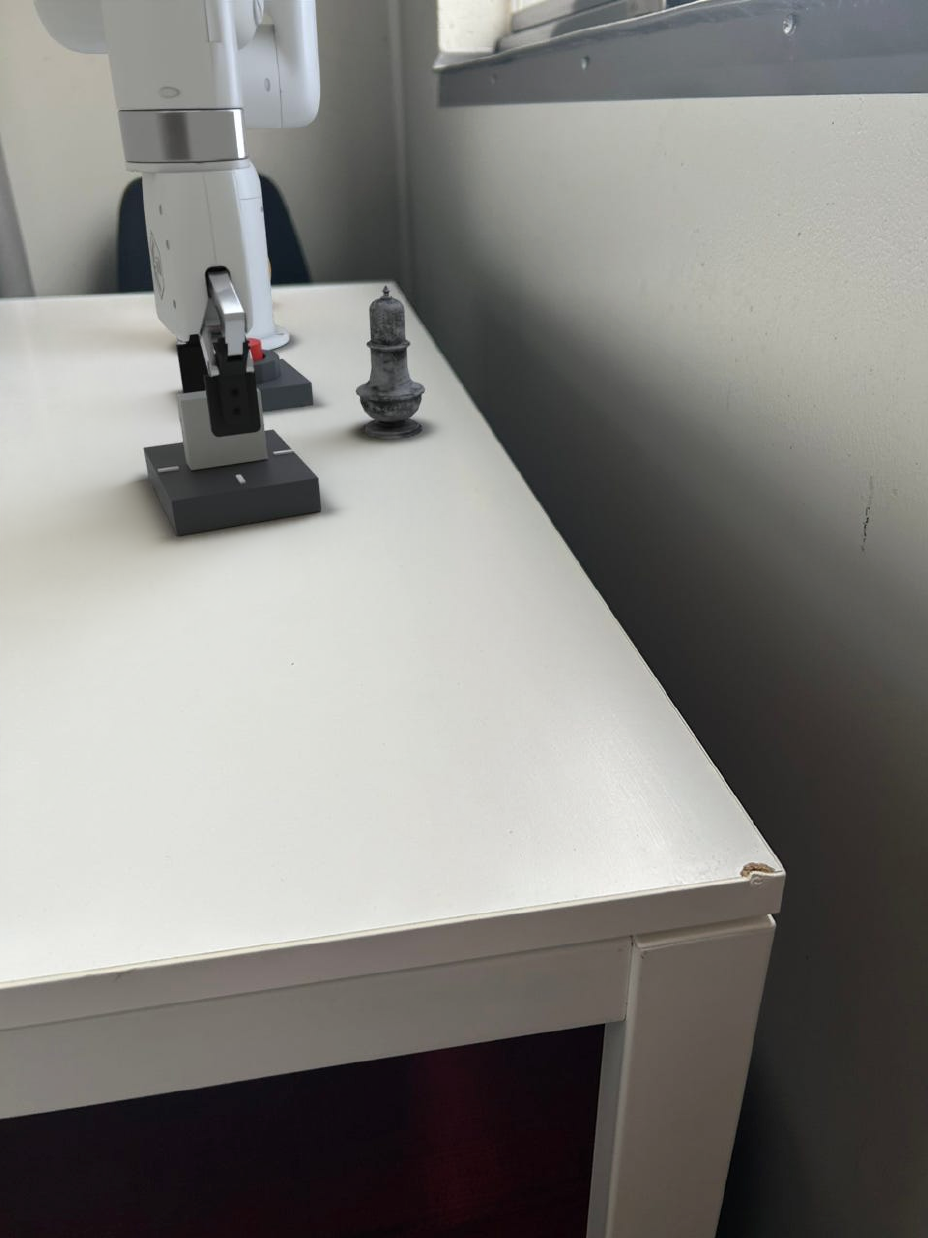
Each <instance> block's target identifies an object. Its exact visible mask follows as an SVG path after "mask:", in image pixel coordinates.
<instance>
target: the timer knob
mask: <svg viewBox="0 0 928 1238" xmlns="http://www.w3.org/2000/svg"><path fill="white" fill-rule="evenodd" d="M257 394H258V403H259V412H260V421H261V428H260V430H259V431H258V432H254V433H247V434H239V435H232V436H225V437H216V436H214V435H213V433H212V432H211V427H210V419H209V412H208V405H207V397H206V391H200V392H192V393H183V392H182V393H177V394H175V398H176V405H177V411H178V418H179V424H180V431H181V437H182V442H183V445H184V451H185V458H186V463H187V465H188V466H189V468H190V469H191V470H198V469H205V468H212V467H218V466H225V465H231V464H238V463H245V462H251V461H258V460H265V459H268V458H267V449H266V440H265V431H266V430H265V422H264V412H262V403H261V394H260V391H259V390H258V389H257Z"/></svg>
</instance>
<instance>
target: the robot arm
mask: <svg viewBox="0 0 928 1238" xmlns="http://www.w3.org/2000/svg"><path fill="white" fill-rule="evenodd" d="M32 1H33V5H34V8H35V11H36V13H37V16H38V18H39V20H40V22H41V25H42V26H43V27H44V29H45V30H46V32H47V33H48V34H49V36H50V37H51V38H52V39H53V40H54V41H55V42H56V43H58V45H60V46H62V48H65V49H67V50H69V51H72V52H76V53H80V54H85V55H108V62H109V69H110V74H111V80H112V87H113V93H114V99H115V106H116V110H118V111H117V118H118V119H117V120H118V124H119V131H120V138H121V144H122V150H123V156H124V164H125V169H126V171H127V172H133V173H134V172H137V173H141V179H142V180H141V181H142V193H143V194H142V197H143V198H142V199H143V211H144V220H145V228H146V238H147V246H148V253H149V262H150V270H151V277H152V278H151V279H152V286H153V288H152V289H153V297H154V305H155V311H156V316H157V318H158V320H159V321H160V322H161V323H162V324H163V326H164V327H165V328H166V329H167V330H168V331H169V332H170V333H171V334H172V335H173V336H174V337H175V338H176V341H177V342H176V343H177V344H175V347H176V352H177V353H176V354H177V361H178V367H179V368H178V369H179V374H180V382H181V387H182V394H183V393H192V392H200V391H206V397H207V405H208V412H209V419H210V427H211V432H212V433H213V435H214V436H216V437H225V436H232V435H239V434H247V433H254V432H258V431H259V430H260V428H261V421H260V412H259V403H258V394H257V385H256V376H255V371H254V363H253V359H252V355H251V351H250V346H249V344H248V343H250V342H249V340H247V338H255V339H259V340H260V341H261V347H262V349H264V350H269V351H273V350H275V349H279V348H281V347H283V346H285V345H286V344H288V343H289V342H290V332H289V330H288V328H286V327H285V326H282V325H280V324H275V316H274V306H273V305H274V304H273V294H272V283H271V280H270V274H269V264H268V258H269V255H268V245H267V237H266V236H267V235H266V225H265V214H264V206H263V195H262V186H261V180H260V177H259V174H258V171H257V169H256V167H255V165H254V164H253V162H252V161H251V160H250V157H249V147H248V135H247V130H282V129H298V128H303V127H306V126H308V125H310V124H311V123H312V122H314V120H315V119H316V118H317V115H318V113H319V111H320V110H319V109H320V101H321V75H320V73H321V71H320V57H319V42H318V40H319V39H318V25H317V23H318V22H317V9H316V8H317V7H316V6H317V5H316V0H32ZM264 14H266V15H267V16H268V17H269V18H270V20H271V21H272V23H262V21H263V17H264Z"/></svg>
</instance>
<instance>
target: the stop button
mask: <svg viewBox="0 0 928 1238" xmlns="http://www.w3.org/2000/svg"><path fill="white" fill-rule="evenodd" d="M247 340H249V342H250V343H248V344H249V346H250V351H251V355H252V359H253V361H257V360H261V359H263V356H262V347H261V341H260V340H259V339H255V338H247Z"/></svg>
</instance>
